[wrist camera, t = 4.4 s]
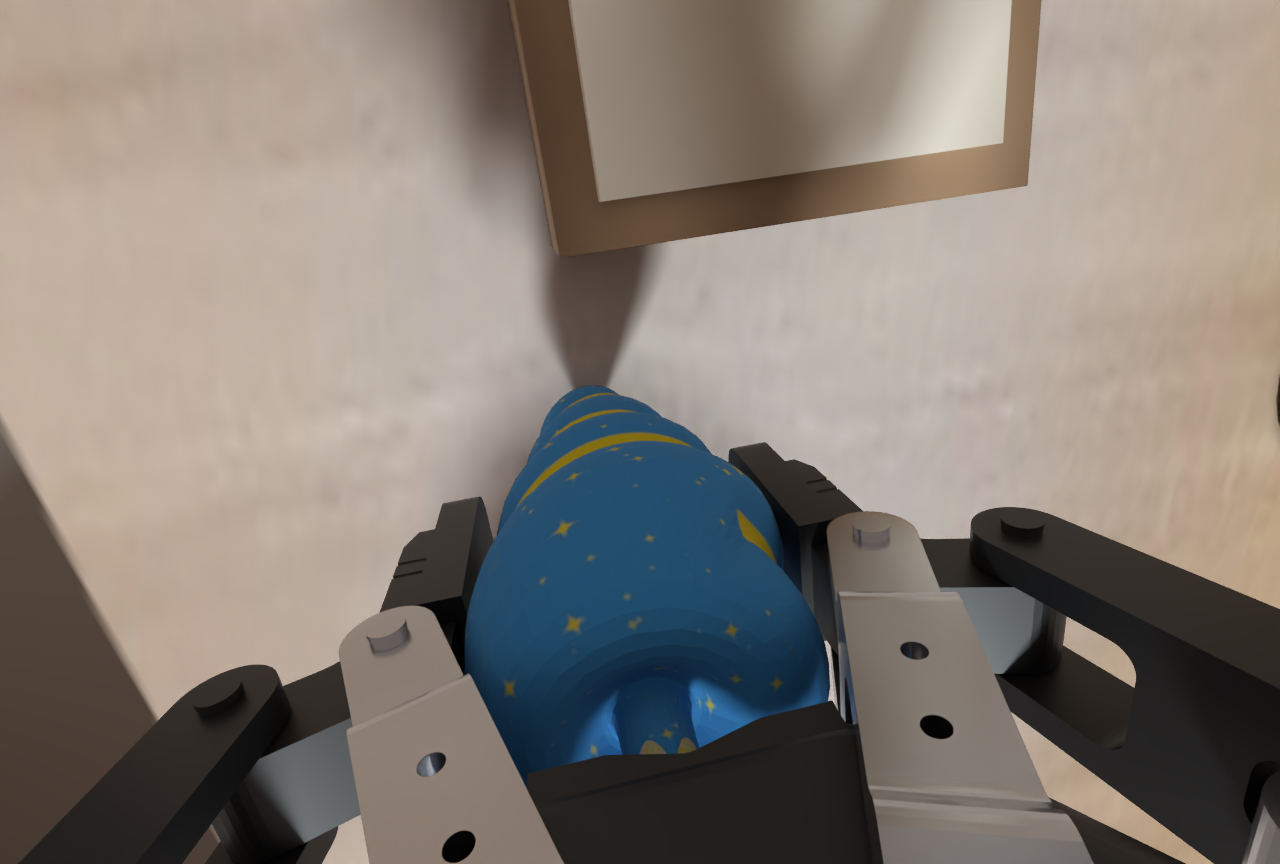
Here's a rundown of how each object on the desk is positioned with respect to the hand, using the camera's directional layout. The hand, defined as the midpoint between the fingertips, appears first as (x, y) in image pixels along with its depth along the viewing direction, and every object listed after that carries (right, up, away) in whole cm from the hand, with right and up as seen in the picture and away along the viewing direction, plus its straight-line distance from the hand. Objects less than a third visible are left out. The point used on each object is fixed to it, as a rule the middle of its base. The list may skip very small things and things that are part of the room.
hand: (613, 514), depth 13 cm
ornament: (-1, +3, +7) cm, 8 cm away
